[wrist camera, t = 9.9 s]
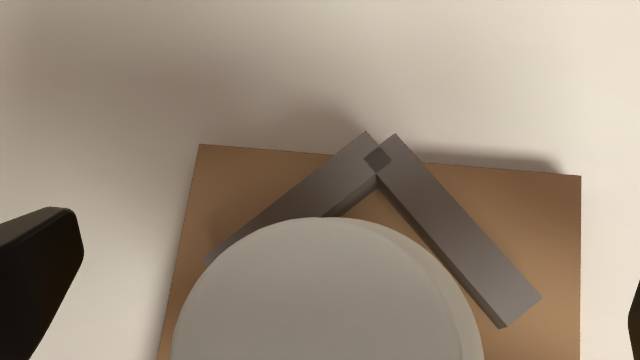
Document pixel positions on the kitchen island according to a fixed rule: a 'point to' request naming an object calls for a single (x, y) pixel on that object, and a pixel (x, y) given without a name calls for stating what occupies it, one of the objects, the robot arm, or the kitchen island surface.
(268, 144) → the kitchen island surface
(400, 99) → the kitchen island surface
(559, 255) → the square wooden base plate
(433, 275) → the supplement bottle
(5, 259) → the robot arm
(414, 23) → the kitchen island surface
